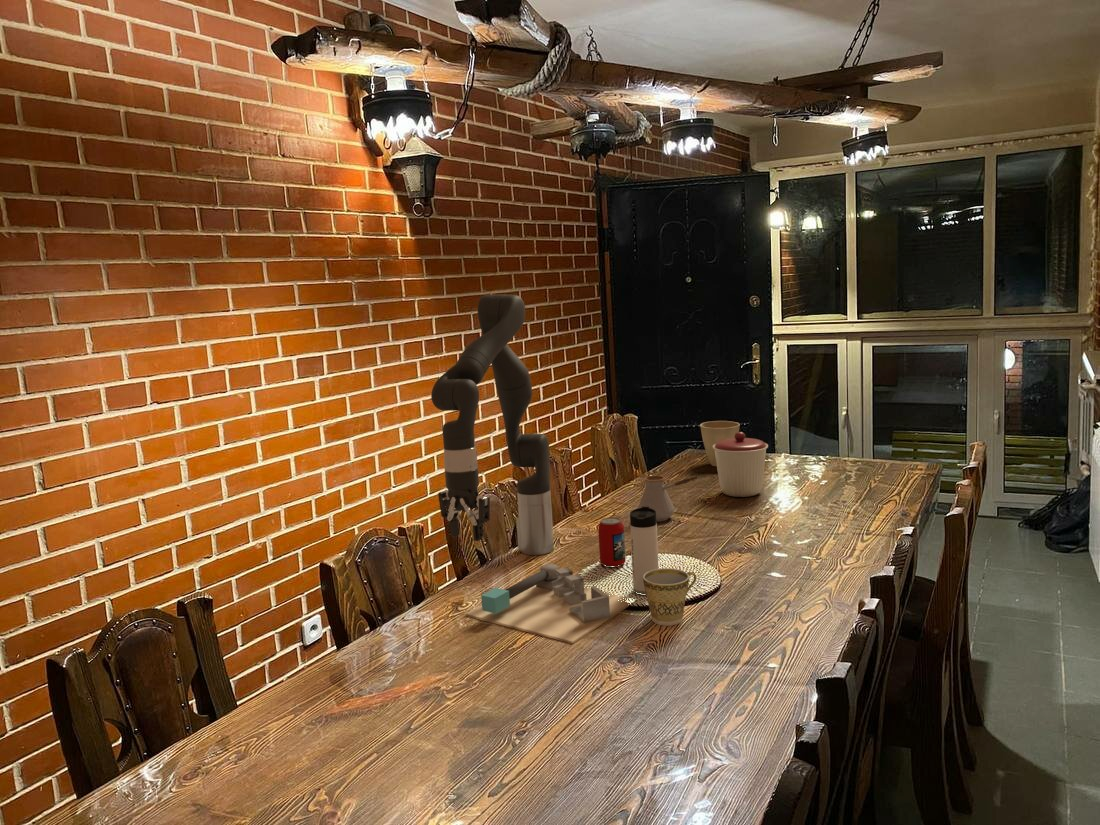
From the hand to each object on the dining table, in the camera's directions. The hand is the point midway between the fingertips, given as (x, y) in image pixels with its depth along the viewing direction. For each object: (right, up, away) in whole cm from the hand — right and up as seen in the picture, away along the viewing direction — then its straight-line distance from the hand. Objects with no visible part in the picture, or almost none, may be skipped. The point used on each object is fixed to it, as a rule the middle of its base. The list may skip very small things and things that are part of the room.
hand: (466, 537), depth 187 cm
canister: (+84, +1, +88) cm, 122 cm away
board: (+19, -17, +2) cm, 26 cm away
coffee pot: (+56, -5, +63) cm, 85 cm away
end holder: (+27, -17, -4) cm, 32 cm away
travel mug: (+42, -14, +9) cm, 45 cm away
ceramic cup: (+46, -17, -8) cm, 50 cm away
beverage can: (+36, -12, +28) cm, 47 cm away
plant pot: (+86, +8, +131) cm, 157 cm away
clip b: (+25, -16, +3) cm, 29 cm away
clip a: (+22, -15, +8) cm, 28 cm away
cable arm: (+13, -14, +6) cm, 20 cm away
